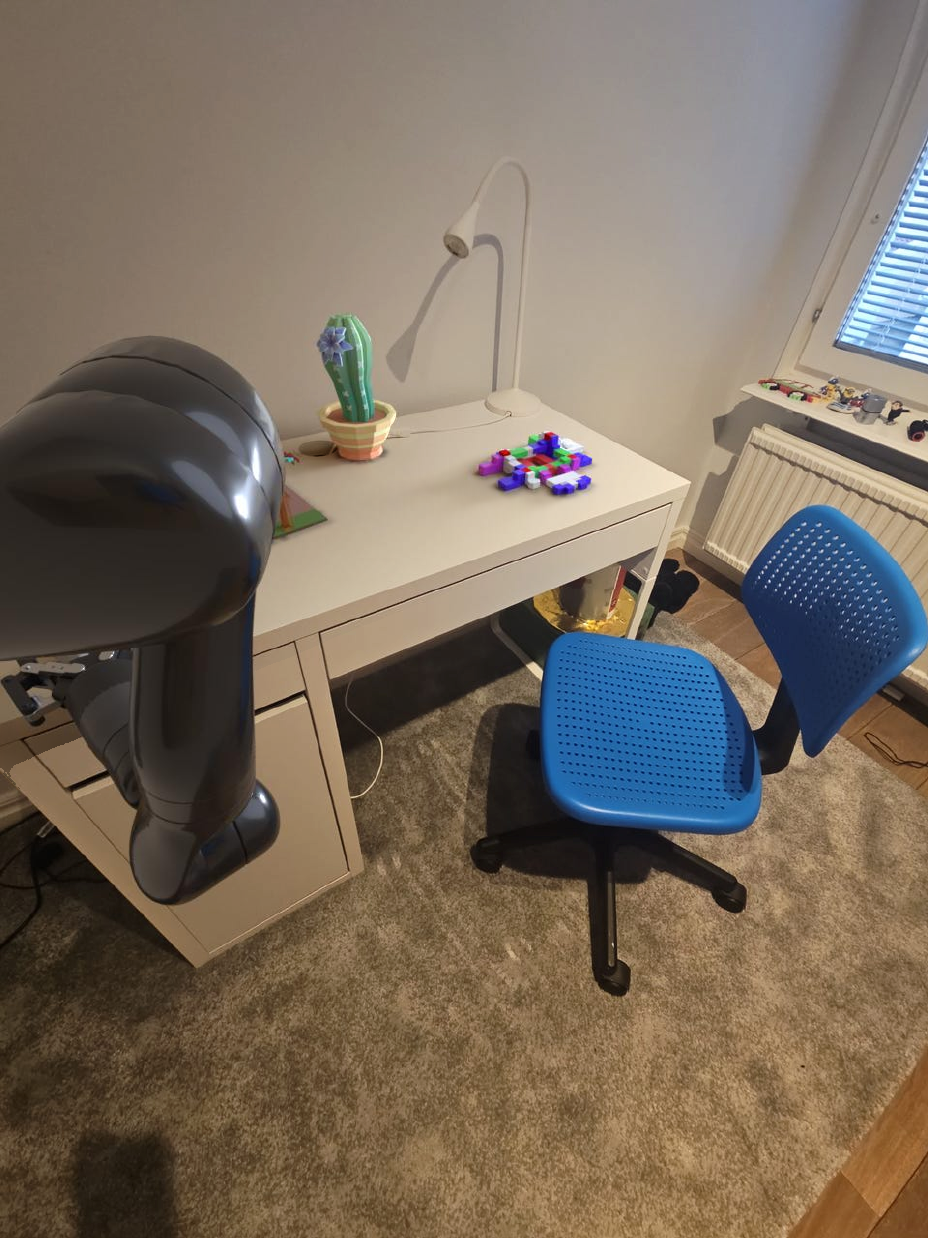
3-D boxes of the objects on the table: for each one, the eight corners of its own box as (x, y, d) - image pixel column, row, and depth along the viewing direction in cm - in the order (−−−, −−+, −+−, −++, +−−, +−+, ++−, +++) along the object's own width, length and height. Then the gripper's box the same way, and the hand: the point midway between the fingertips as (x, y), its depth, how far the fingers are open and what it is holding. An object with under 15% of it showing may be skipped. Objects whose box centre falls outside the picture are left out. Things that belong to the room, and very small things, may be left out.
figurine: (277, 480, 100) (261, 401, 91) (327, 520, 90) (314, 435, 81) (202, 503, 93) (175, 419, 83) (246, 549, 83) (221, 459, 73)
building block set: (529, 507, 96) (532, 483, 93) (464, 463, 108) (465, 441, 105) (626, 474, 107) (631, 452, 104) (557, 438, 119) (560, 418, 116)
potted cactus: (309, 446, 112) (287, 310, 96) (375, 430, 119) (364, 302, 103) (344, 474, 103) (326, 329, 87) (412, 455, 110) (407, 318, 94)
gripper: (189, 651, 52) (125, 578, 61) (19, 734, 44) (-28, 637, 53) (211, 701, 57) (149, 627, 65) (61, 785, 49) (12, 688, 58)
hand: (70, 632), depth 59 cm, fingers open, 8 cm apart
